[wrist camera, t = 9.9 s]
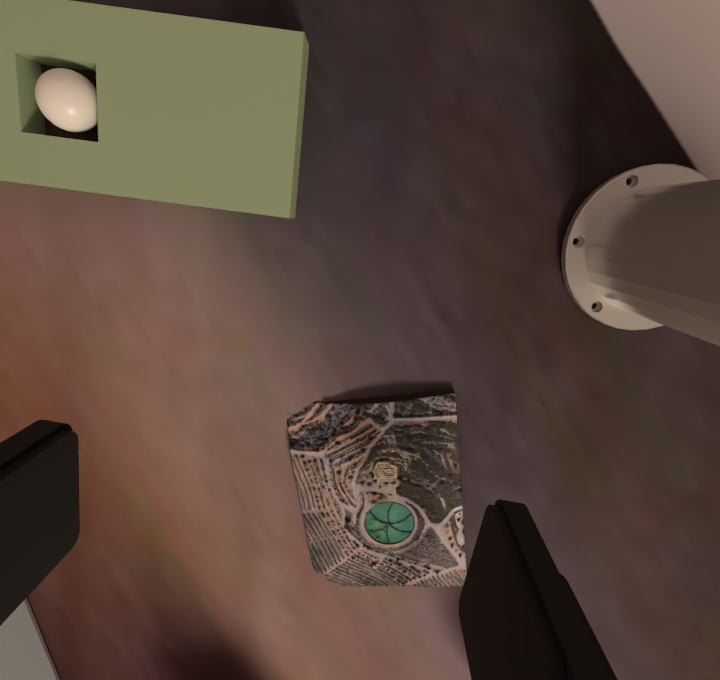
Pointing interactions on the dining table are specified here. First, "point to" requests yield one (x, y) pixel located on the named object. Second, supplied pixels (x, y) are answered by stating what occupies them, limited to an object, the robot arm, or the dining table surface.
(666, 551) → the dining table surface
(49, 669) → the orange and grey box
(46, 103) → the ball
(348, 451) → the terrain model
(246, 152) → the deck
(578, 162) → the dining table surface
